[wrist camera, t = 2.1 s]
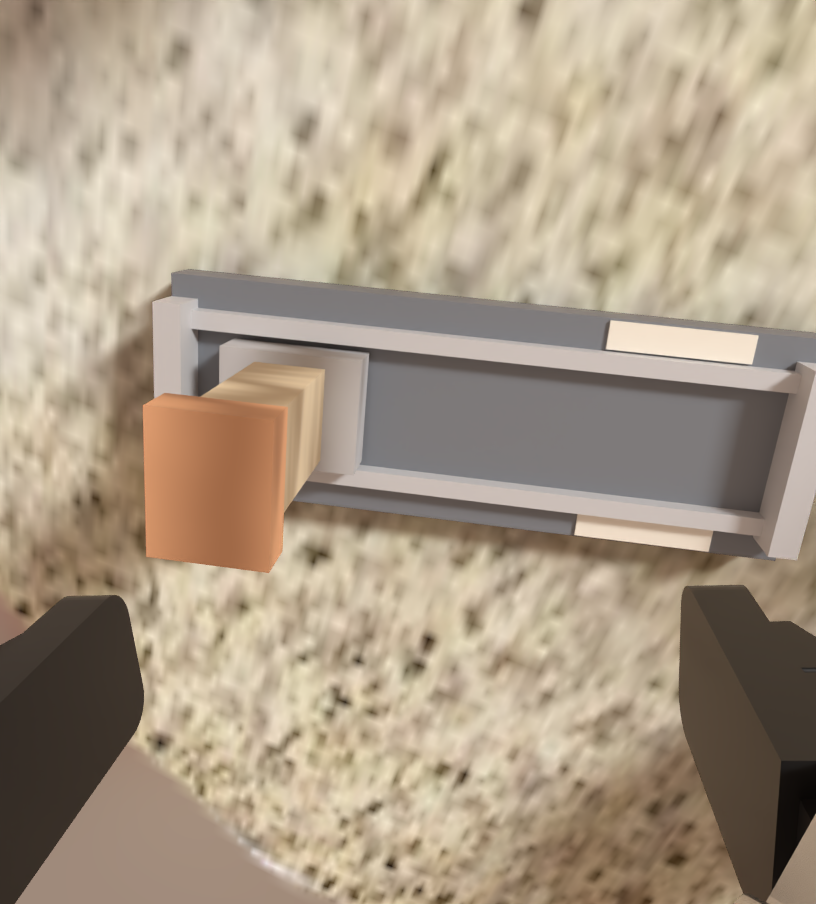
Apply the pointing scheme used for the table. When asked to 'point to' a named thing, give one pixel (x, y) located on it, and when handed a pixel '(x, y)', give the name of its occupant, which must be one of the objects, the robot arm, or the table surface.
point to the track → (537, 410)
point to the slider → (248, 450)
